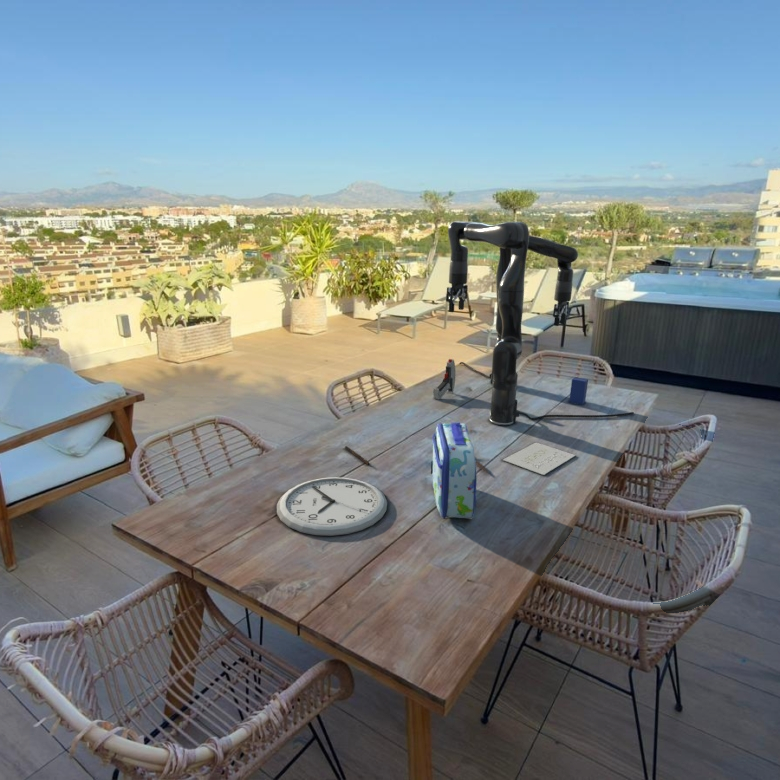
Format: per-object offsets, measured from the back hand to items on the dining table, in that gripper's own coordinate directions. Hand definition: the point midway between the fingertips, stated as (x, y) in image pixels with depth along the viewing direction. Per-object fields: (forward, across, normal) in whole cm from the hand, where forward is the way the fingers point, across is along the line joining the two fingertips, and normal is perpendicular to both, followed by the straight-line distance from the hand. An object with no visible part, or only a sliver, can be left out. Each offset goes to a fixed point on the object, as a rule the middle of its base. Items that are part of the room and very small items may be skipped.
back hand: (559, 324), depth 252 cm
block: (+29, +24, +20) cm, 42 cm away
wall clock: (+29, +156, -5) cm, 159 cm away
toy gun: (+29, +53, -31) cm, 68 cm away
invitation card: (+29, +91, +29) cm, 100 cm away
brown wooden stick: (+29, +128, -20) cm, 133 cm away
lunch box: (+29, +134, +20) cm, 139 cm away
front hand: (-10, +54, -27) cm, 61 cm away
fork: (+29, +108, +14) cm, 113 cm away
